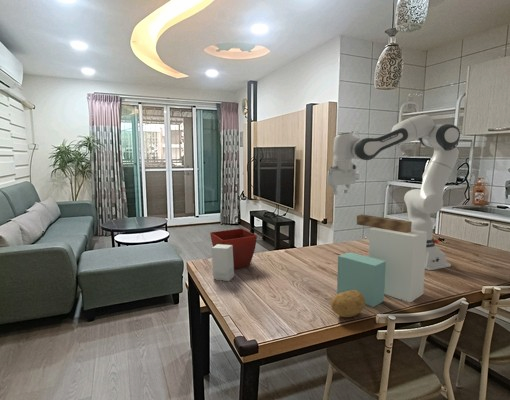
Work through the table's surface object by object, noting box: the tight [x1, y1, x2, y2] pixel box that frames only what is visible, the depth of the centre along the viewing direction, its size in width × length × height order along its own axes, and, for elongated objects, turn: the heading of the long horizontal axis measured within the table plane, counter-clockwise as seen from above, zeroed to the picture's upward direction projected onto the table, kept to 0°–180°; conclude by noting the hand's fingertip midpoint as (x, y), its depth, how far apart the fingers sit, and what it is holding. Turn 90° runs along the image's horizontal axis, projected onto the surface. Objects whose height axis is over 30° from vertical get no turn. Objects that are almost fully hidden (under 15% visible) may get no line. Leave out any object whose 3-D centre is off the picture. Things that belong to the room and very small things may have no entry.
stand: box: [368, 227, 427, 303], centre depth 131 cm, size 12×18×26 cm, turn 41°
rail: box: [356, 214, 412, 233], centre depth 134 cm, size 22×4×4 cm, turn 41°
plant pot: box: [210, 228, 258, 270], centre depth 166 cm, size 19×19×17 cm
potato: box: [330, 290, 366, 318], centre depth 112 cm, size 10×14×8 cm
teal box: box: [336, 252, 386, 308], centre depth 126 cm, size 8×16×16 cm, turn 41°
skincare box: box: [211, 244, 235, 282], centre depth 147 cm, size 8×7×16 cm
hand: (340, 193), depth 159 cm, fingers open, 8 cm apart
